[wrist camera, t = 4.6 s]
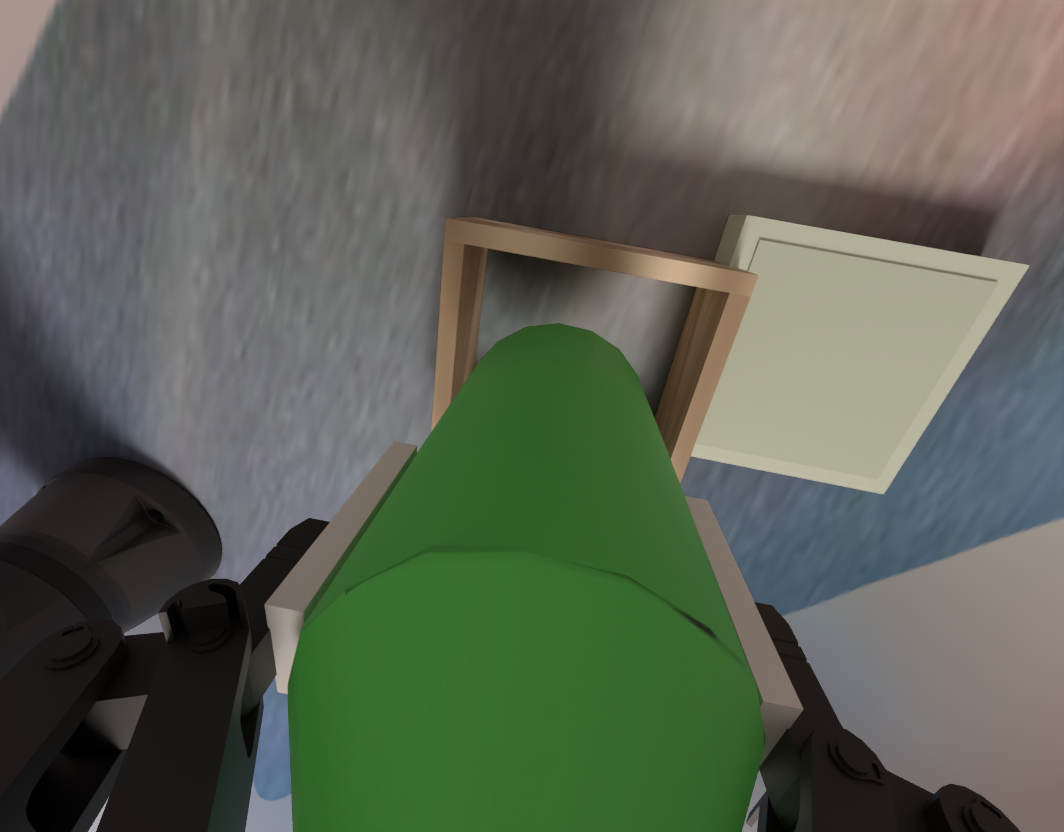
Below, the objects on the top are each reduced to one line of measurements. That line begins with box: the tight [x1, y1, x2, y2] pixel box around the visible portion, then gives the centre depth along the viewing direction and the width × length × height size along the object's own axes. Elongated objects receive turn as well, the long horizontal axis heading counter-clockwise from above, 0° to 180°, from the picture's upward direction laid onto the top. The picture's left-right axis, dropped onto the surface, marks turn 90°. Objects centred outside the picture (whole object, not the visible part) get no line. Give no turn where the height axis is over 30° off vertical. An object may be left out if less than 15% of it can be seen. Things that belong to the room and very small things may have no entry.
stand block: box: [691, 215, 1030, 494], centre depth 26 cm, size 14×14×3 cm
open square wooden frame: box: [431, 217, 759, 483], centre depth 26 cm, size 15×15×6 cm
